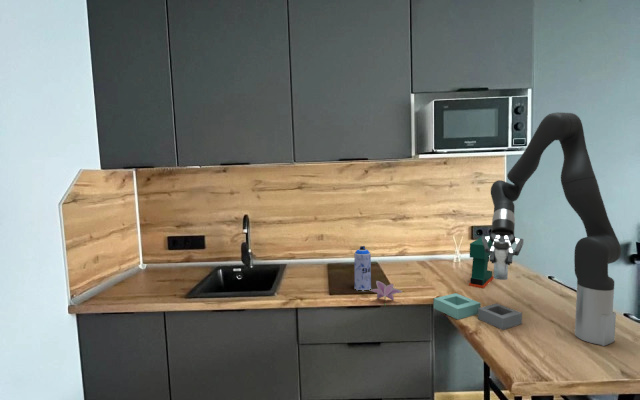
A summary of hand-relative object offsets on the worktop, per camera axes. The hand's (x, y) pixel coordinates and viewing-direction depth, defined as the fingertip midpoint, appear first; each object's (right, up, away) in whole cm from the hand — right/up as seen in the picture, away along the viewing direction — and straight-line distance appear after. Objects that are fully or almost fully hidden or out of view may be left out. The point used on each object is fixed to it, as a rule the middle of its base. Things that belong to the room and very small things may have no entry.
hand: (500, 262), depth 121 cm
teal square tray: (-10, -21, +13) cm, 27 cm away
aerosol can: (-43, -20, +41) cm, 63 cm away
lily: (-36, -21, +23) cm, 48 cm away
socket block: (+1, -22, +3) cm, 22 cm away
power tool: (+19, -17, +52) cm, 58 cm away
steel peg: (+1, -6, +2) cm, 6 cm away
